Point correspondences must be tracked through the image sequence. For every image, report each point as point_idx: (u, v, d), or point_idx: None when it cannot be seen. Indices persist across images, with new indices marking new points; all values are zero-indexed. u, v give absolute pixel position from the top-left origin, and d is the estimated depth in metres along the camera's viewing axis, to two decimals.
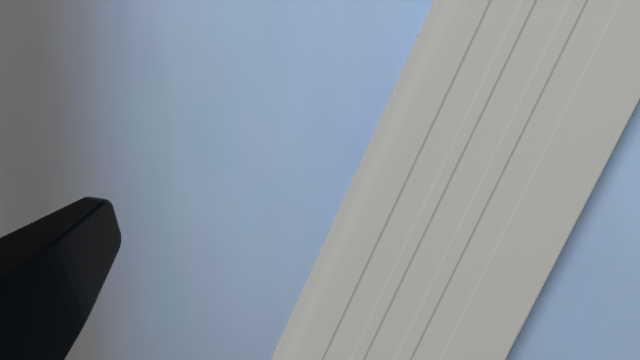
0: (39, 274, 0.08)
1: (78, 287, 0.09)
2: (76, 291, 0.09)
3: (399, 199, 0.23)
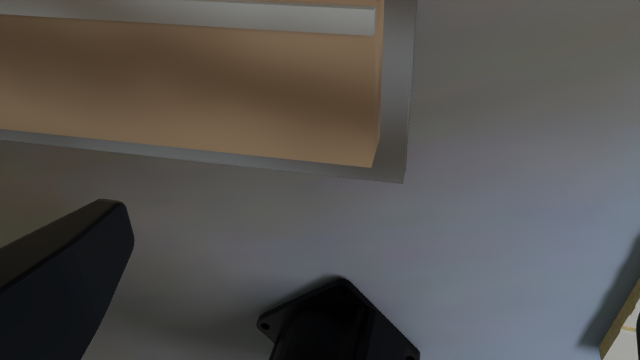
0: (55, 277, 0.08)
1: (93, 290, 0.09)
2: (91, 294, 0.09)
3: None
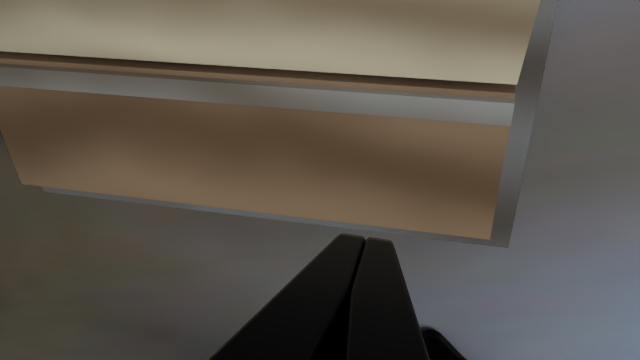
0: (338, 327, 0.07)
1: None
2: None
3: None
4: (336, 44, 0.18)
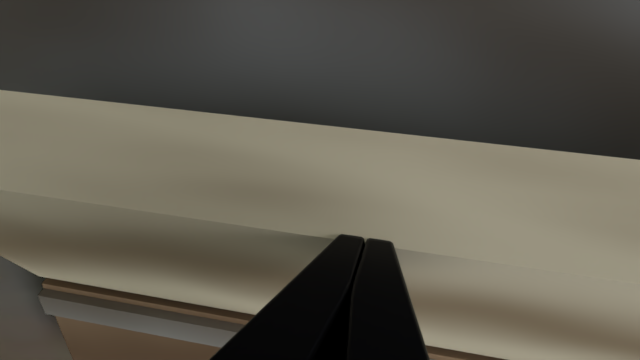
0: (338, 327, 0.07)
1: None
2: None
3: None
4: (576, 358, 0.13)
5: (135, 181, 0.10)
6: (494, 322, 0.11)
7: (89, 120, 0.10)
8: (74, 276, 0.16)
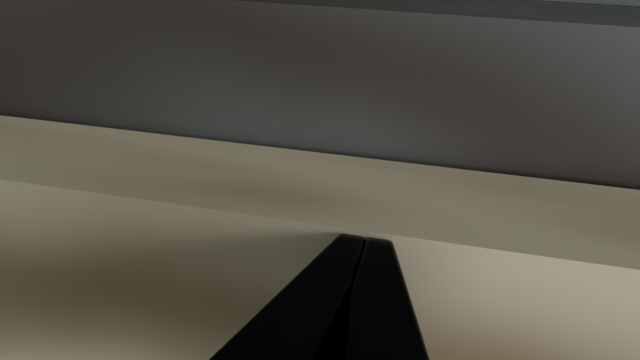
0: (338, 327, 0.07)
1: None
2: None
3: None
4: None
5: (144, 180, 0.10)
6: None
7: (108, 140, 0.11)
8: None
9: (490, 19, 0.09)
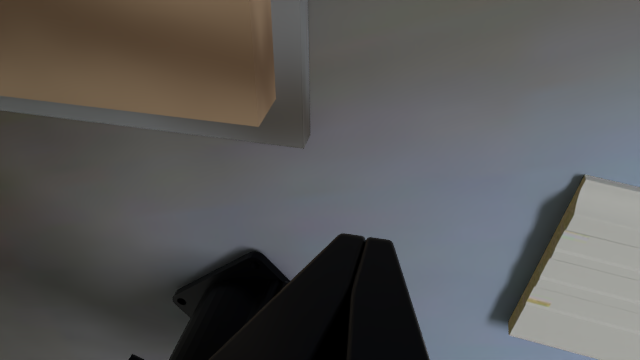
0: (338, 327, 0.07)
1: None
2: None
3: None
4: None
5: None
6: None
7: None
8: None
9: None
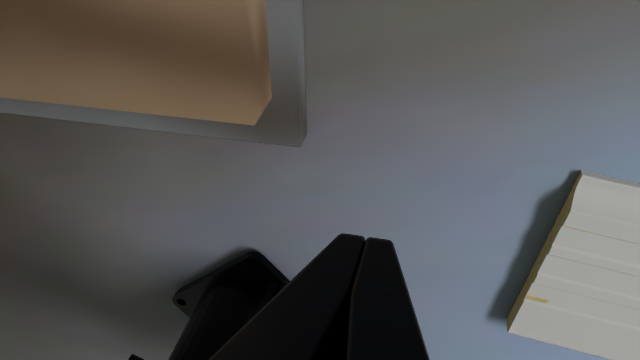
0: (338, 327, 0.07)
1: None
2: None
3: None
4: None
5: None
6: None
7: None
8: None
9: None
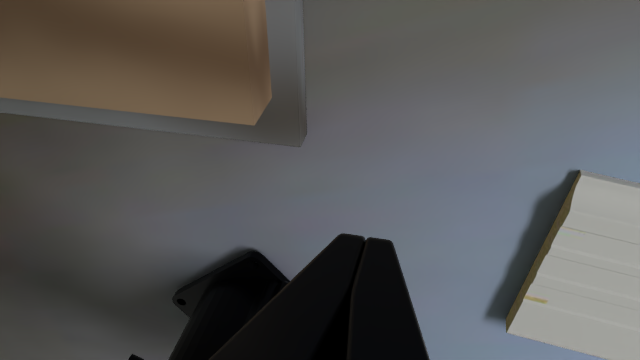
0: (338, 327, 0.07)
1: None
2: None
3: None
4: None
5: None
6: None
7: None
8: None
9: None
